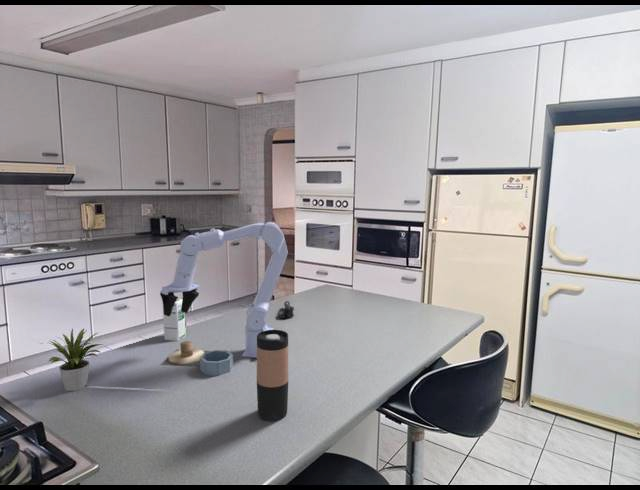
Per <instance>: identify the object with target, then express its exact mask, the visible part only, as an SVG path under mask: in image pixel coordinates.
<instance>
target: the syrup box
mask: <svg viewBox="0 0 640 490" xmlns="http://www.w3.org/2000/svg"><path fill="white" fill-rule="evenodd" d="M182 300H183V298H180V297H178V298H177V300H176V302H175V303H174V306H173V309H172V312H171V315H170V316H166V315H164V310H163V309H162V314H163V315H162V317H163V333H164V335H163V337H164V340H165V341H166V340H167V341H174V342H175V341H176V342H179V341H181V340H182V339H184V338H186V337H187V334H188V333H187V331H188V330H187V313H184V312H182V311H181V307H182Z"/></svg>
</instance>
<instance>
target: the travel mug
mask: <svg viewBox="0 0 640 490" xmlns="http://www.w3.org/2000/svg"><path fill="white" fill-rule="evenodd" d="M288 395H289V334H288V332H286V331H285V330H282V329H274V330H266V331H262V332H260V333H258V334H257V358H256V399H257V415H258V417H259V418H260V419H261V420H263V421H267V422H277V421H281V420H282V419H284V418H285V417H286V416H287V414H288V401H289V398H288V397H289V396H288Z"/></svg>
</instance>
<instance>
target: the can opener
mask: <svg viewBox="0 0 640 490" xmlns="http://www.w3.org/2000/svg"><path fill="white" fill-rule="evenodd" d="M283 305H284V310H282V311H279V312H278V317H279V319H283V318H288V317H290V318H292V317H294V316H295V315H294V310H295V307H294V306H291V303H290V301H288V300H285V301H284V303H283Z"/></svg>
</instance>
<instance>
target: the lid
mask: <svg viewBox="0 0 640 490" xmlns="http://www.w3.org/2000/svg"><path fill="white" fill-rule="evenodd" d="M177 350H178V351H175V352H174V351H173V352H171V353H170V354H168V357H169V362H171V363H173V364H177V365H187V364H193V363H196V362H199V361H200V357H201V356H202V355H203V354H204V351H205V350H201V349H200V348H194V346H193V341H192V340H191V341H190V340H186V341H182V342H180V349H177Z"/></svg>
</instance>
